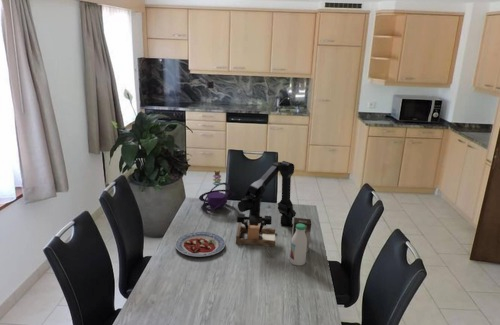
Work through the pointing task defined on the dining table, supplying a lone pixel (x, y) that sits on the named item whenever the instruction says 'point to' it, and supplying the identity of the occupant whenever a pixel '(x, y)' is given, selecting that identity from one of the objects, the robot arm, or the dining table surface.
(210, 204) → the decorative bottle
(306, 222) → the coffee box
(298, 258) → the milk bottle
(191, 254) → the ceramic plate
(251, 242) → the bay
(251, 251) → the dining table surface
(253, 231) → the block
